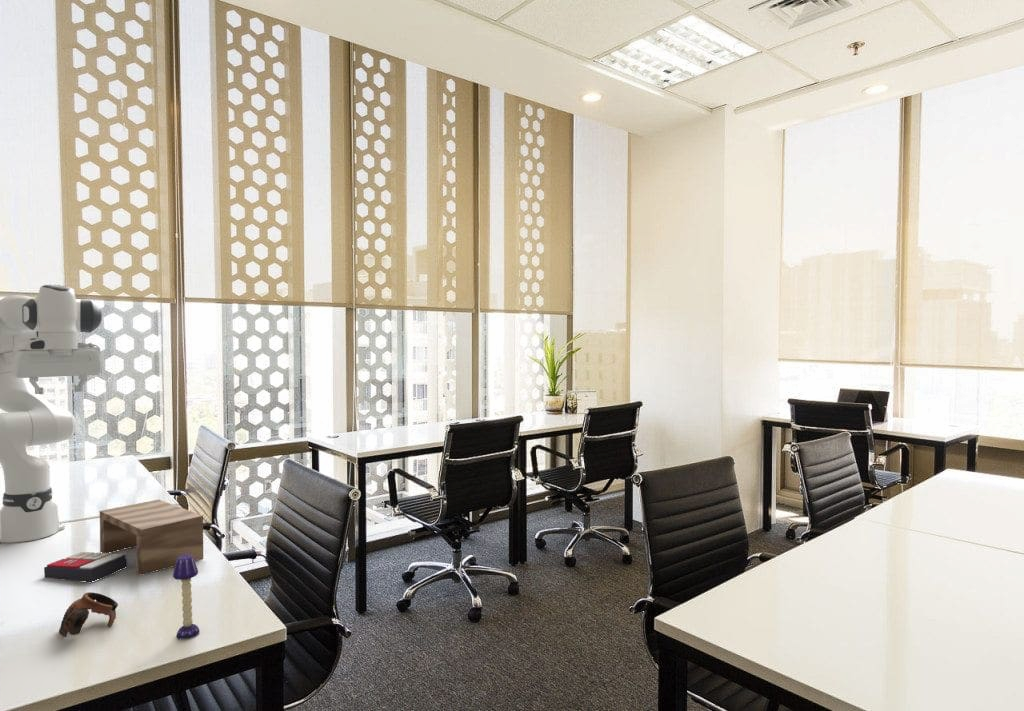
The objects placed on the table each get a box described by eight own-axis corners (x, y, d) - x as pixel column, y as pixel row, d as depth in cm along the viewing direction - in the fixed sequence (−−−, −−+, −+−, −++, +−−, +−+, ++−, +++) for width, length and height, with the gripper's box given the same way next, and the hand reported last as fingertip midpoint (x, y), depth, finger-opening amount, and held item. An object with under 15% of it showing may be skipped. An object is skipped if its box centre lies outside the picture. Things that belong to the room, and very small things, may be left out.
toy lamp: (193, 640, 126) (192, 560, 125) (169, 640, 125) (168, 560, 125) (202, 629, 131) (202, 551, 130) (180, 629, 130) (179, 552, 130)
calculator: (81, 550, 169) (126, 552, 165) (82, 565, 169) (127, 567, 165) (42, 564, 158) (90, 566, 155) (43, 581, 158) (91, 583, 155)
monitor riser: (100, 552, 177) (99, 510, 176) (159, 537, 189) (158, 499, 189) (141, 575, 160) (141, 529, 159) (203, 557, 172) (203, 515, 172)
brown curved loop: (67, 623, 134) (90, 587, 136) (108, 641, 135) (130, 604, 137) (38, 635, 122) (63, 594, 125) (83, 654, 123) (107, 613, 126)
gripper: (95, 343, 180) (96, 389, 180) (9, 343, 163) (10, 395, 163) (105, 343, 176) (105, 390, 177) (18, 343, 159) (19, 396, 160)
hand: (59, 392), depth 170 cm, fingers open, 8 cm apart
